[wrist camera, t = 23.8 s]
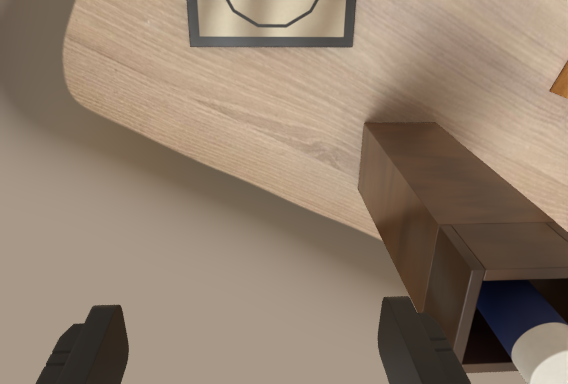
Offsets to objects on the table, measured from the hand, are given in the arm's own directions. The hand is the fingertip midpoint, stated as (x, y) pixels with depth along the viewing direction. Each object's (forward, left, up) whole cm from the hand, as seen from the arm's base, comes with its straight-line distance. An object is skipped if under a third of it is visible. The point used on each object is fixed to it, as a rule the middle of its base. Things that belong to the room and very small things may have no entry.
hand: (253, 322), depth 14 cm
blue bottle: (+16, -9, -14) cm, 23 cm away
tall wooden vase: (+16, -9, -36) cm, 40 cm away
